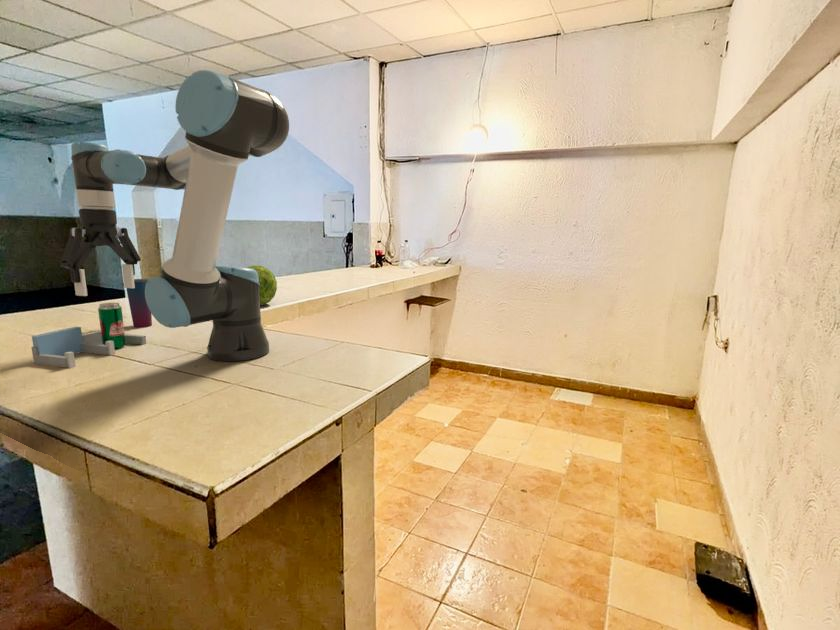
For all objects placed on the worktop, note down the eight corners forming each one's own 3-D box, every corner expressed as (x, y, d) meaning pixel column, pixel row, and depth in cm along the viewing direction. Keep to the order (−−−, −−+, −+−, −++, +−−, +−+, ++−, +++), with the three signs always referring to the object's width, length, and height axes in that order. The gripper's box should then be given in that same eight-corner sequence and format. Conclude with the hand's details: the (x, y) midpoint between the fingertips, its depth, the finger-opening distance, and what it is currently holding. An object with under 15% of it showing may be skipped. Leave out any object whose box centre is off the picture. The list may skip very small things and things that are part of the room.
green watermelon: (250, 313, 191) (271, 284, 196) (265, 313, 172) (288, 281, 177) (217, 290, 183) (240, 261, 188) (229, 288, 164) (255, 256, 169)
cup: (159, 325, 140) (154, 280, 136) (136, 329, 134) (131, 282, 131) (148, 322, 143) (143, 278, 140) (126, 326, 137) (120, 280, 134)
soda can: (114, 351, 112) (108, 306, 109) (98, 349, 113) (92, 305, 110) (130, 345, 117) (125, 302, 114) (115, 344, 118) (109, 301, 115)
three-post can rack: (148, 343, 119) (145, 321, 118) (70, 367, 99) (66, 340, 97) (116, 340, 122) (113, 318, 120) (33, 363, 101) (29, 336, 100)
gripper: (128, 209, 120) (136, 284, 124) (31, 205, 96) (45, 297, 101) (150, 210, 118) (157, 286, 123) (57, 206, 95) (70, 300, 99)
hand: (107, 291), depth 112 cm, fingers open, 13 cm apart
